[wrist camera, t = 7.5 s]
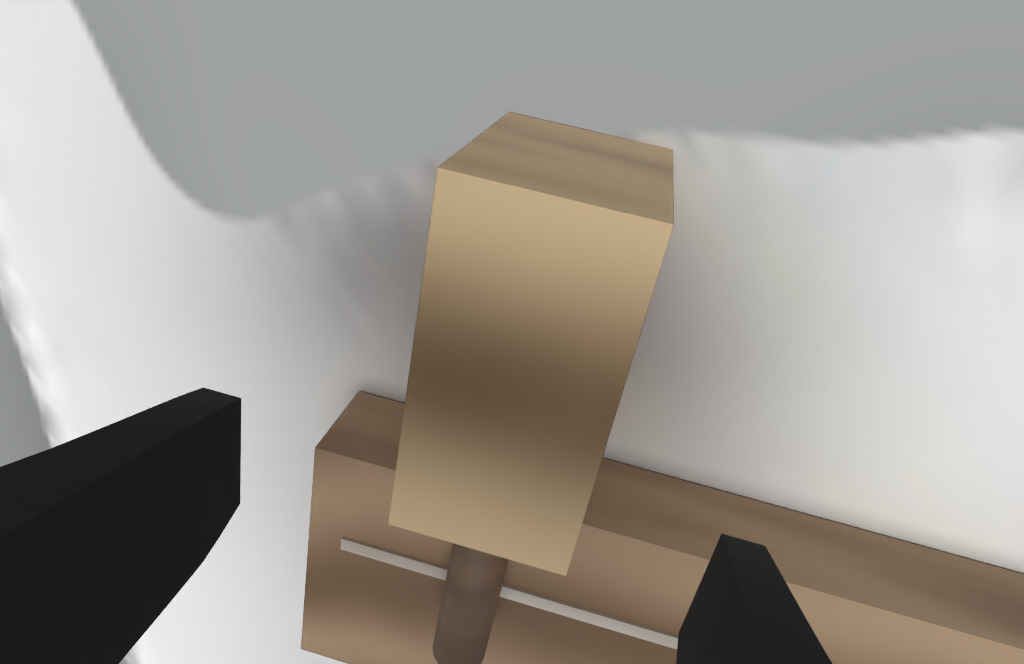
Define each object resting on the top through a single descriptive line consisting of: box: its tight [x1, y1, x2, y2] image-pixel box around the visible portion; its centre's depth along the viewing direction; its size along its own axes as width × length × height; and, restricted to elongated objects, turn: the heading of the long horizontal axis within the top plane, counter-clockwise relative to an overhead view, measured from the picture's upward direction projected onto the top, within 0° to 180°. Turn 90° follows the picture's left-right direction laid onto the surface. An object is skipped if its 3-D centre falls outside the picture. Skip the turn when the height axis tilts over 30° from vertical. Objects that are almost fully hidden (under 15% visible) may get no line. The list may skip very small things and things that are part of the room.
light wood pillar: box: [388, 112, 674, 664], centre depth 17 cm, size 13×4×6 cm, turn 169°
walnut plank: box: [301, 391, 1024, 664], centre depth 21 cm, size 8×24×3 cm, turn 79°
